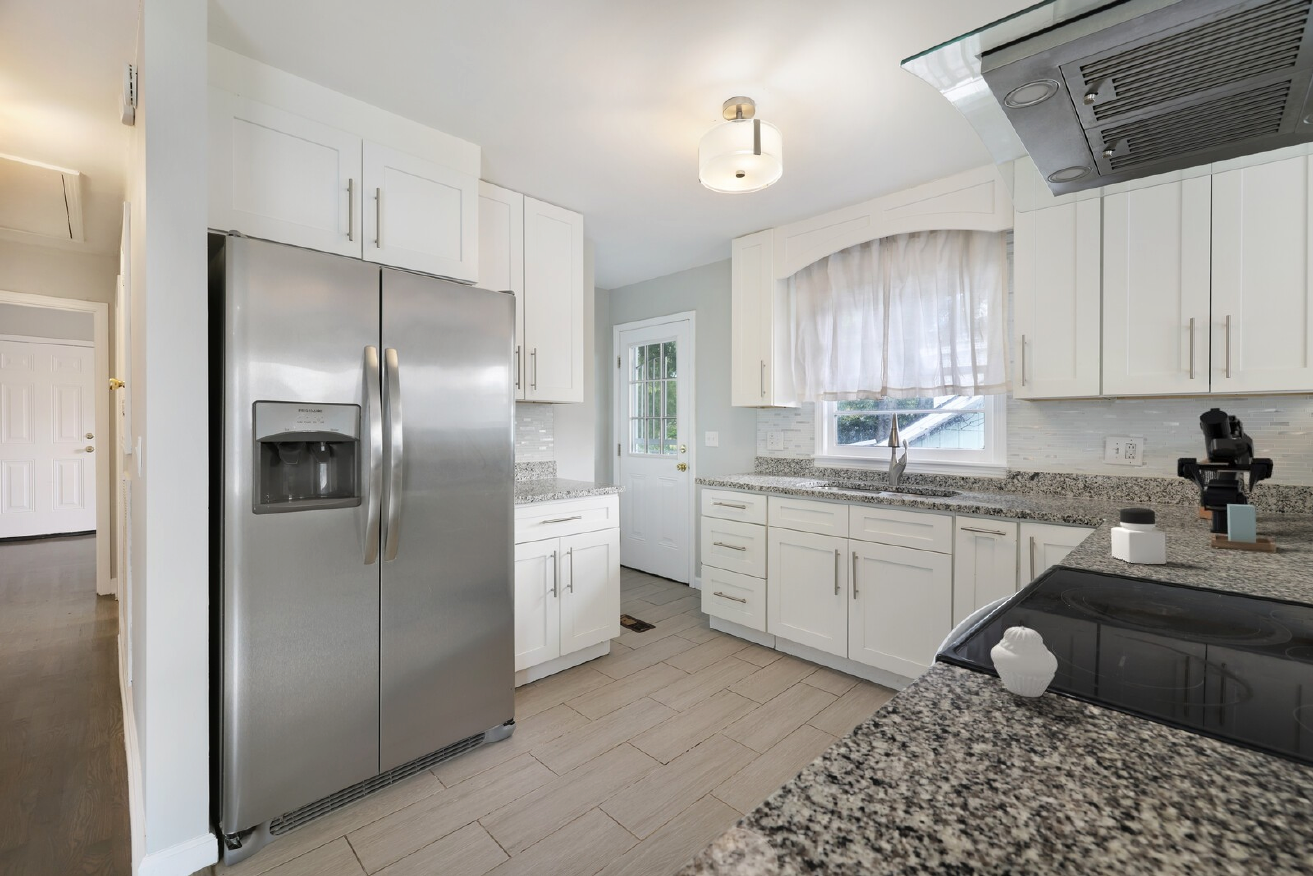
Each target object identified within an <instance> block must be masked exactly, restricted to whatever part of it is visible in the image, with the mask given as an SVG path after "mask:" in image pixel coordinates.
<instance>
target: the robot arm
mask: <svg viewBox="0 0 1313 876" xmlns="http://www.w3.org/2000/svg"><path fill="white" fill-rule="evenodd" d="M1199 421H1200V422H1199V427H1200V430H1201V431H1202V435H1203V436H1204V443H1205V452H1206V458H1207V459H1208V462H1200V461H1198V459H1197V457H1179V458H1178V459H1177V461H1176V462H1177V463H1176V465H1177V466H1176V474H1177V475H1176V476H1177V477H1179V478H1184V479H1185V480H1189V481H1191V482H1192V483H1193V484H1194V485H1195V486H1197V488H1198V489H1200V491H1201V490H1202V491H1203V501H1204V511H1212V520H1211V528H1210V529H1209V531H1211V532H1210V533H1217V532H1218V534H1228V514H1227V508H1210V506H1218V507H1227V504H1237V505H1249V502H1248V501H1249V500H1248V496H1246V493H1245V494H1244V492H1241V485H1239V481H1238V480H1239V476H1240V472H1244V473H1249V478H1248V492H1249V493H1252V492H1253V491H1254V488H1255V486H1256V485H1257V484H1258V483H1259V482H1260V481H1261V482H1262V481H1265V480H1268V479H1271V478H1272V474H1273V470H1274V469H1273V468H1274V462H1273V459H1271V458H1270V457H1255V445H1254V440H1253V438H1252V437H1250V436H1249V435H1248V434H1246V433H1245V432H1244V426H1243V424H1244V423H1243V422H1242V421H1241V419H1240V418H1238V417H1237V416H1236V414H1230V415H1228V413H1227V412H1225V411H1224V410H1221V407H1210V409H1209V410H1208V411H1205V412H1203V413H1202V414H1201V415H1200V416H1199ZM1201 470H1210V472H1219V475H1218V479H1210V480H1209V483H1208V485H1207V489H1206V490H1204V483H1203V480H1202V477H1201Z"/></svg>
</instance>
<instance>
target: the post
mask: <svg viewBox="0 0 1313 876" xmlns="http://www.w3.org/2000/svg"><path fill="white" fill-rule="evenodd" d="M1227 514H1228V533H1227V536H1228V541H1239V542H1252V543H1256V538H1257V528H1256V527H1257V525H1256V524H1257V523H1256V521H1257V520H1256V506H1255V505H1253V504H1248V505H1237V504H1227Z"/></svg>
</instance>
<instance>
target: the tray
mask: <svg viewBox="0 0 1313 876" xmlns="http://www.w3.org/2000/svg"><path fill="white" fill-rule="evenodd" d="M1210 538H1211V541H1210V542H1211V548H1212V547H1218V548H1217V549H1220V548H1225V549H1224V550H1232V549H1242V550H1241V551H1245V550H1251V551H1250V552H1257V551H1260V552H1261V553H1270V554H1271V553H1273V554H1276V553H1277V544H1276V543H1275V541H1274V540H1273V538H1262V537H1256V543H1252V542H1239V541H1228V535H1227V536H1222V534H1211V535H1210ZM1260 552H1259V553H1260Z"/></svg>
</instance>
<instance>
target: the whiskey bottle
mask: <svg viewBox="0 0 1313 876" xmlns="http://www.w3.org/2000/svg"><path fill="white" fill-rule="evenodd" d="M1199 462H1208V459H1207V457H1206V458H1205V459H1202V460H1200V461H1199ZM1244 473H1245V472H1240V476H1239V480H1238V481H1239V485H1241V492H1244V494H1245V495H1246V490H1245V489H1246V487H1245V475H1244ZM1200 474H1201V477H1202V480H1203V483H1204V490H1206V489H1207V485H1208V483H1209V480H1210V479H1218V475H1219V472H1210V470H1200ZM1210 508H1227V507H1218V506H1210ZM1199 517H1204V518H1212V511H1204V501H1203V491H1202V490H1201V489H1200V506H1199V507H1198V518H1199Z"/></svg>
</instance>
